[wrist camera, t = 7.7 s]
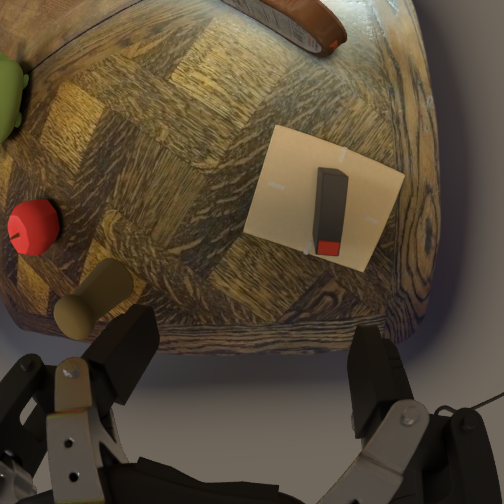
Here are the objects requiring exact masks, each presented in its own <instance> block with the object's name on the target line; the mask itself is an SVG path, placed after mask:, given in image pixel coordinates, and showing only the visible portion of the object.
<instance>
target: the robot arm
mask: <svg viewBox="0 0 504 504" xmlns="http://www.w3.org/2000/svg"><path fill="white" fill-rule="evenodd" d="M159 341H160V336H159V332H158V327H157V323H156V319H155V314H154V310H153V308H152V307H151V306H146V305H140V304H133V305H132V306H131V307H130V308H129V309H128V310H127V312H126V313H125V314H123V313H122V314H121V315H119V316H118V317H116V318H114V319H113V320H112V321H111V322H110V323H109V324H108V325H107V327H106V329H104V330H103V331H102V332H101V335H99V336H98V337H97V338H96V339H95V341H94V342H93V343H92V344H91V345H90V347H89V348H88V349H87V350H86V351H85V353H84V354H83V355H82V356H81V357H80V358H79V357H71V358H68V359H66V360H64V361H62V362H61V363H60V364H59V365H58V366H51V365H44V363H43V361H42V360H41V358H40V357H39V356H38V355H37V354H27V355H25V356H23V357H21V358H20V359H19V360H18V361H17V362H16V363H15V364H14V366H13V367H12V368H11V369H10V371H9V372H8V373H7V374H6V376H5V377H4V378H3V379H2V381H1V382H0V504H305V503H303V502H302V501H301V500H299V499H297V498H295V497H293V496H290V495H288V494H284V493H281V492H278V490H279V485H271V484H260V483H251V482H243V481H241V482H221V483H204V482H201V481H198V480H196V479H194V478H192V477H190V476H188V475H186V474H184V473H182V472H180V471H178V470H176V469H175V468H173V467H171V466H168V465H164V464H161V463H158V462H155V461H152V460H149V459H146V458H143V457H139V459H138V462H137V463H129V461H128V459H127V457H126V455H125V454H124V452H123V449H122V447H121V443H120V439H119V436H118V432H117V427H116V424H115V419H114V414H113V410H112V408H111V406H112V405H113V403H114V402H115V403H118V404H121V405H125V404H126V402H127V400H128V398H129V397H130V395H131V393H132V391H133V390H134V388H135V386H136V384H137V383H138V381H139V379H140V378H141V376H142V374H143V373H144V371H145V369H146V367H147V366H148V364H149V362H150V361H151V359H152V357H153V356H154V354H155V352H156V351H157V349H158V346H159ZM347 371H348V378H349V385H350V393H351V400H352V409H353V418H354V428H355V438H356V439H360V438H361V443H362V451H361V452H360V454H359V455H358V456H357V458H356V459H355V460H354V461H353V463H352V464H351V465H350V466H349V468H348V469H347V470H346V471H345V472H344V474H343V475H342V476H341V477H340V478H339V479H338V481H337V482H336V483H335V484H334V485H333V486H332V487H331V488H330V490H329V491H328V492H327V493H326V494H325V495H324V496H323V497H322V498H321V499H320V500H319V501H318V502H317V503H316V504H502V498H501V492H500V485H499V480H498V475H497V470H496V465H495V461H494V457H493V453H492V449H491V445H490V442H489V438H488V435H487V431H486V428H485V425H484V422H483V419H482V417H481V415H480V414H479V413H478V412H477V411H475V409H477V408H479V407H481V406H484V405H485V404H488V403H490V402H492V401H494V400H496V399H498V398H500V397H502V396H504V392H503V393H502V394H500V395H498V396H495V397H493V398H492V399H489V400H487V401H485V402H482V403H480V404H478V405H476V406H474V407H471V408H461V409H458V410H455V409H453V408H451V407H449V406H446V405H445V406H441V407H439V408H438V409H437V410H436V411H435V413H434V415H433V414H429V413H428V411H427V409H426V408H425V406H424V405H423V404H421V403H420V402H418V401H416V400H414V397H413V394H412V391H411V388H410V385H409V381H408V378H407V375H406V373H405V369H404V368H403V364H402V361H401V360H400V355H399V352H398V349H397V347H396V346H395V345H394V344H393V343H392V342H391V341H390V340H389V339H382V337H381V334H380V332H379V329H378V327H377V326H376V325H358V326H357V327H356V330H355V334H354V337H353V341H352V344H351V348H350V351H349V355H348V362H347ZM31 397H32V398H33V399H34V400H35V402H36V403H37V405H36V406H35V408H34V409H33V411H32V412H31V414H30V415H29V417H28V418H27V420H26V422H25V423H24V425H22V424H21V423H20V414H21V412H22V410H23V408H24V407H25V406H26V404H27V403H28V402H29V400H30V399H31ZM443 409H445V410H448V411H450V412H452V413H454V414H453V415H452V416H451V417H447V416H440V415H438V413H439V411H441V410H443ZM47 450H48V460H49V469H50V477H51V483H52V489H51V490H48V491H46V492H42V493H40V494H37V489H36V487H35V486H34V485H33V481H32V479H33V477H34V475H35V473H36V471H37V469H38V467H39V465H40V463H41V461H42V460H43V458H44V456H45V454H46V452H47Z"/></svg>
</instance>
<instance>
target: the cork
mask: <svg viewBox="0 0 504 504" xmlns="http://www.w3.org/2000/svg"><path fill="white" fill-rule="evenodd" d="M132 292H133V280H132V277H131V275H130V273H129V271H128V270H127V269H126V267H125V266H124V265H123V264H121V263H120V262H119V261H117V260H115V259H110V258H108V259H104V260H103V261H101V262H100V263H99V264H98V265H97V266H96V268H95V269H94V270H93V271H92V272H91V273H90V274H89V275H88V277H87V278H86V279H85V280H84V281H83V282H82V283H81V285H80V286H79V287H78V288H77V289H76V291H75V292H74V293H73V294H71V295H66V296H63V297H62V298H61V299H60V300H58V301H57V303H56V305H55V308H54V318H55V320H56V323H57V325H58V326H59V328H60V329H61V330H62V332H63V333H64V334H65V335H67V336H68V337H70V338H72V339H74V340H82V339H84V338H86V337H88V336H89V335H90V334H91V332H92V330H93V328H94V326H95V322H96V321H97V320H98V319H99V318H101V317H102V316H103V315H105V314H106V313H107V312H109V311H110V310H111V309H113V308H114V307H115V306H117V305H118V304H119V303H121V302H122V301H123V300H125V299H126V298H127V297H129V296H130V295H131V293H132Z"/></svg>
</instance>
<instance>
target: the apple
mask: <svg viewBox="0 0 504 504" xmlns="http://www.w3.org/2000/svg"><path fill="white" fill-rule="evenodd" d="M8 231H9V236H10V240H11V243H12V244H13V246H14V247H15V249H16V250H17V251H18V253H21V254H26V255H32V256H37V255H40V254H43V253H44V252H45V251H46V250H47V249H48V248H49V247H50V246H51V245H52V244H53V243H54V242H55V240H56V238H57V235H58V233H59V231H60V226H59V221H58V216H57V212H56V210H55V209H54V208H53V206H52V205H51V204H50V203H49V201H48V200H47V199H42V200H32V201H25V202H21V203H20V204H18V205H17V206H16V207H15V208H14V209H13V211H12V213H11V215H10V218H9V223H8Z"/></svg>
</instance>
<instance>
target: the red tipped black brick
mask: <svg viewBox="0 0 504 504" xmlns="http://www.w3.org/2000/svg"><path fill="white" fill-rule="evenodd" d="M348 180H349V177H348V176H347V175H346V174H345V173H343V172H342V171H340V170H339V169H334V168H324V167H318V174H317V187H316V199H315V211H314V221H313V231H312V235H313V242H314V248H315V254H316V255H326V256H339V252H340V245H341V238H342V231H343V224H344V216H345V208H346V199H347V190H348Z"/></svg>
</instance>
